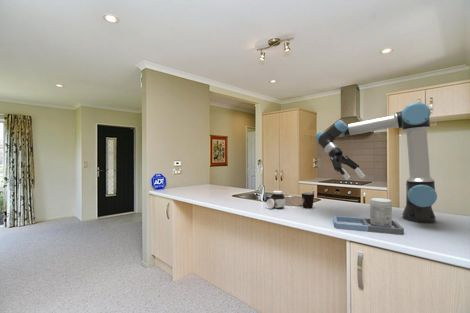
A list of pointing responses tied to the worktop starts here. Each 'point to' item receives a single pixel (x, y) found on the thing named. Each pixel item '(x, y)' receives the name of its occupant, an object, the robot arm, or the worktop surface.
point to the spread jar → (276, 200)
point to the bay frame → (366, 225)
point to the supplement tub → (381, 212)
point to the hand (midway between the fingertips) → (356, 178)
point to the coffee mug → (307, 200)
